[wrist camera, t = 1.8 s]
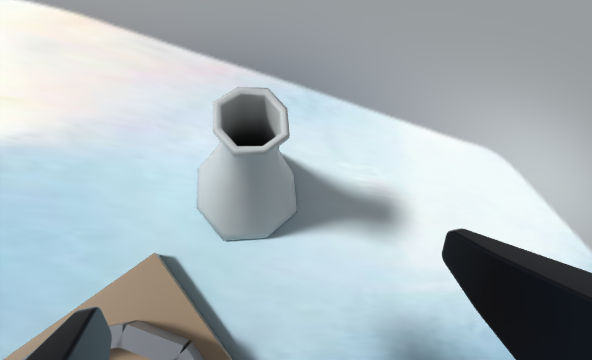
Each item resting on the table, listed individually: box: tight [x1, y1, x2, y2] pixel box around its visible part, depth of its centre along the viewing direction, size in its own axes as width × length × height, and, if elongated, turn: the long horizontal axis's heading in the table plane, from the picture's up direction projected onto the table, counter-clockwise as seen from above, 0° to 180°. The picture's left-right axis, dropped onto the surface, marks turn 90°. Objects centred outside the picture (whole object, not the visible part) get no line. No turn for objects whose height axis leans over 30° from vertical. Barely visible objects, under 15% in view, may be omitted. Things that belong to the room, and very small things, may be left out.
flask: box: [197, 87, 297, 241], centre depth 17 cm, size 7×7×10 cm
